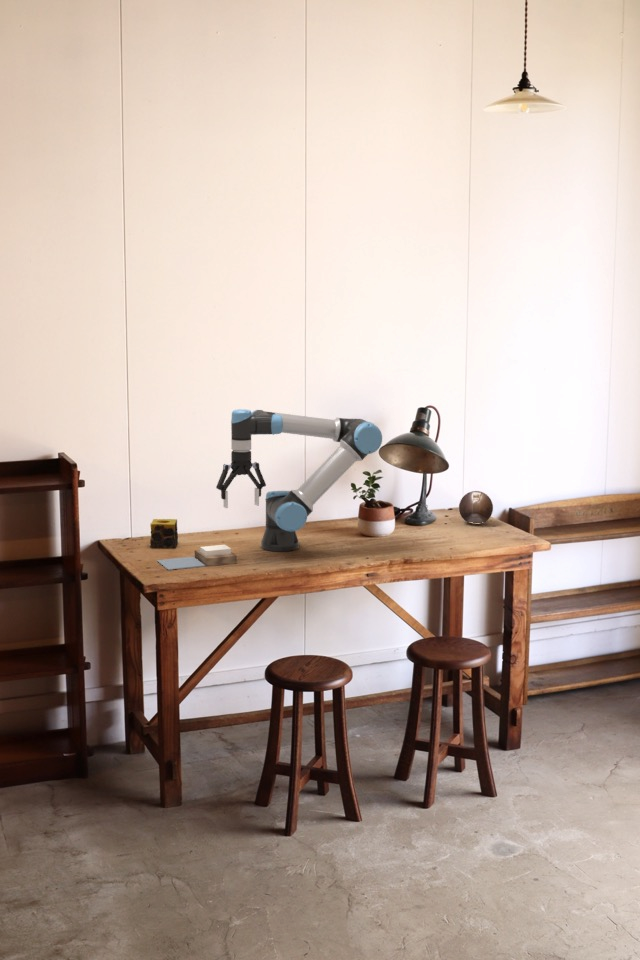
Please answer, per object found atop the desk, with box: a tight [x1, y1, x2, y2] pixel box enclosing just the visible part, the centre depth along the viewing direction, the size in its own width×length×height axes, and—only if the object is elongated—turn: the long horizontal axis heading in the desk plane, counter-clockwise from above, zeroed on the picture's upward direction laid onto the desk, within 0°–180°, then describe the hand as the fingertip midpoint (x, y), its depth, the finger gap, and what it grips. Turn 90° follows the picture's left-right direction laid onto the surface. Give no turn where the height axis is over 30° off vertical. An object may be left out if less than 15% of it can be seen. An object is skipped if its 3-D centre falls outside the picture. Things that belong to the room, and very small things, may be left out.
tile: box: [199, 544, 232, 556], centre depth 404 cm, size 10×7×2 cm
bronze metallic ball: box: [458, 490, 494, 524], centre depth 473 cm, size 15×15×15 cm
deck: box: [194, 549, 238, 567], centre depth 405 cm, size 12×14×3 cm
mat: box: [156, 556, 206, 571], centre depth 399 cm, size 14×14×1 cm
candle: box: [149, 518, 179, 549], centre depth 426 cm, size 10×10×10 cm
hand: (241, 506), depth 406 cm, fingers open, 12 cm apart
